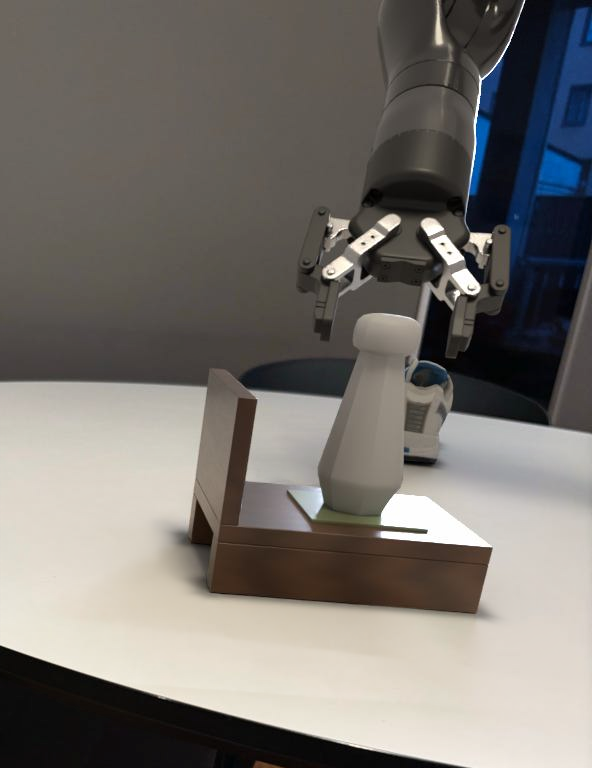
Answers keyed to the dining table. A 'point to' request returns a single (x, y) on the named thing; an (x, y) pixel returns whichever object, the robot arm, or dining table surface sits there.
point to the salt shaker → (370, 419)
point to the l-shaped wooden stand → (319, 530)
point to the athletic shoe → (425, 409)
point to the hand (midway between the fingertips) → (388, 342)
